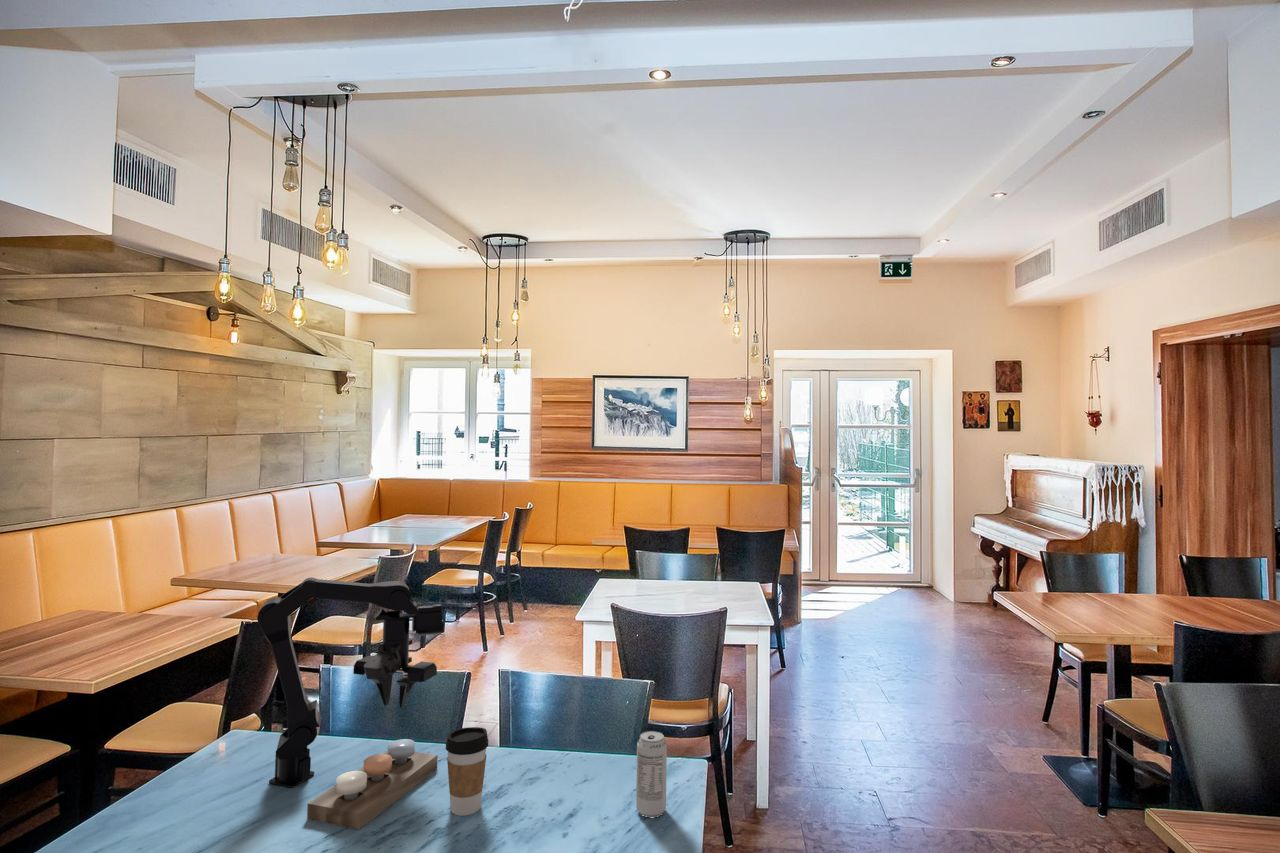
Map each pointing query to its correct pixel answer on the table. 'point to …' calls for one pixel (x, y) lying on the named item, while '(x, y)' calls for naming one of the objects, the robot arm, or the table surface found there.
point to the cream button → (351, 784)
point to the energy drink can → (651, 774)
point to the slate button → (401, 750)
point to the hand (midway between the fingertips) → (394, 706)
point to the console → (372, 794)
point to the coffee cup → (466, 768)
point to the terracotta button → (377, 766)
